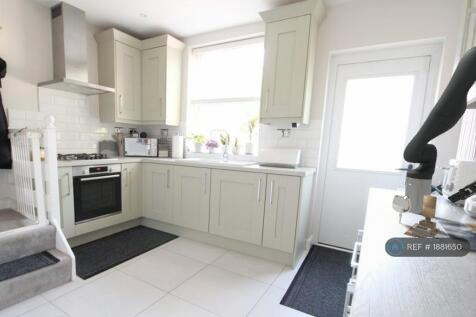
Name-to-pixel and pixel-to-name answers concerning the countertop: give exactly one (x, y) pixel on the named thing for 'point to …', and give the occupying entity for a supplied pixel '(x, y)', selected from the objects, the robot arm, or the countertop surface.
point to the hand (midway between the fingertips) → (454, 199)
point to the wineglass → (401, 205)
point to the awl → (429, 207)
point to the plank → (422, 229)
